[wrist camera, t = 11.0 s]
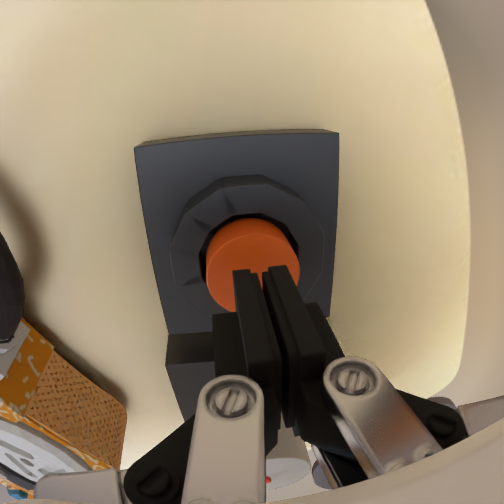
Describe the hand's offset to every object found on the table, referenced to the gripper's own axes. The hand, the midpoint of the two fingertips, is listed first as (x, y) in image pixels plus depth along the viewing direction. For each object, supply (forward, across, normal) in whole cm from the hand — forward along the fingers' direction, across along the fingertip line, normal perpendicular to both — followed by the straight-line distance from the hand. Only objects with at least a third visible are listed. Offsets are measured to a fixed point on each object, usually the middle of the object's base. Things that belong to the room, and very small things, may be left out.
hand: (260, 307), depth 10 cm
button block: (+8, 0, 0) cm, 8 cm away
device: (+8, +21, +10) cm, 25 cm away
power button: (+4, 0, 0) cm, 4 cm away
